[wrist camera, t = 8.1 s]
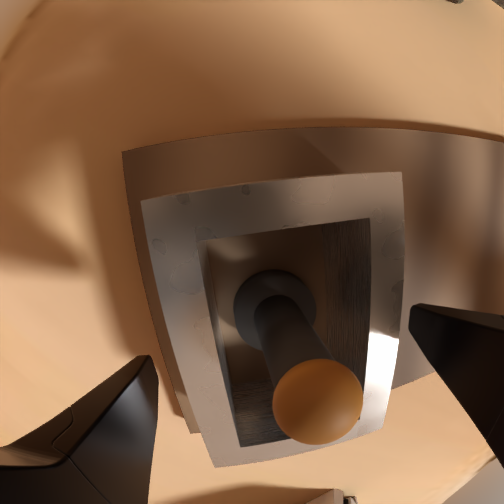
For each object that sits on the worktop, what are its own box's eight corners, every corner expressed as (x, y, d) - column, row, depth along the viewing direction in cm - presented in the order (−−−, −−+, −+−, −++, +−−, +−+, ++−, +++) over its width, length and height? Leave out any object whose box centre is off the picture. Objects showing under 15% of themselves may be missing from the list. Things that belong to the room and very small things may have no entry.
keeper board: (524, 149, 13) (605, 155, 6) (512, 319, 17) (575, 357, 9) (128, 153, 11) (4, 118, 3) (190, 421, 14) (189, 546, 6)
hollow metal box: (344, 173, 11) (401, 171, 7) (347, 377, 14) (382, 428, 10) (166, 194, 11) (140, 201, 7) (212, 405, 13) (214, 467, 9)
